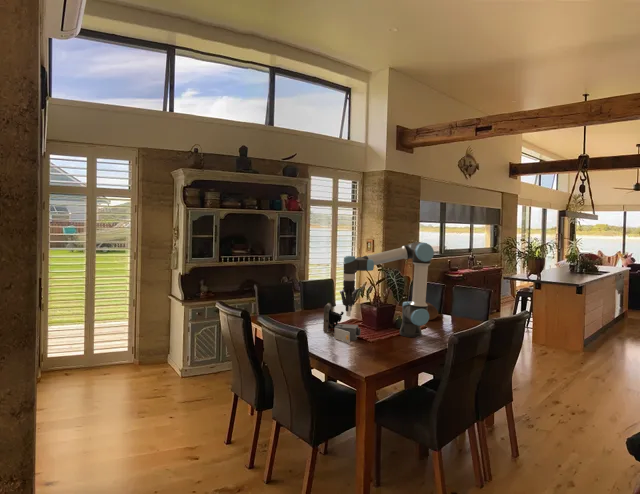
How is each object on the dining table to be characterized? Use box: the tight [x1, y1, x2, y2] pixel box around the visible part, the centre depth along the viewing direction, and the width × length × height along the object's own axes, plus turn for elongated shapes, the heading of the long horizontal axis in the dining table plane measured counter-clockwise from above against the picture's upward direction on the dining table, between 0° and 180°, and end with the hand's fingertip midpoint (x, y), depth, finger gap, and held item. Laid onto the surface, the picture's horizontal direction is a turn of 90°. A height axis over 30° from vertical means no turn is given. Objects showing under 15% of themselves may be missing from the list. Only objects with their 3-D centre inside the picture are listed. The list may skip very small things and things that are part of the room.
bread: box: [426, 301, 439, 321], centre depth 349 cm, size 26×27×13 cm
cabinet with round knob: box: [335, 323, 362, 341], centre depth 286 cm, size 16×9×9 cm, turn 75°
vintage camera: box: [322, 302, 344, 334], centre depth 301 cm, size 10×16×20 cm, turn 78°
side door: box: [333, 328, 351, 344], centre depth 278 cm, size 14×2×7 cm, turn 40°
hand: (348, 316), depth 277 cm, fingers closed
